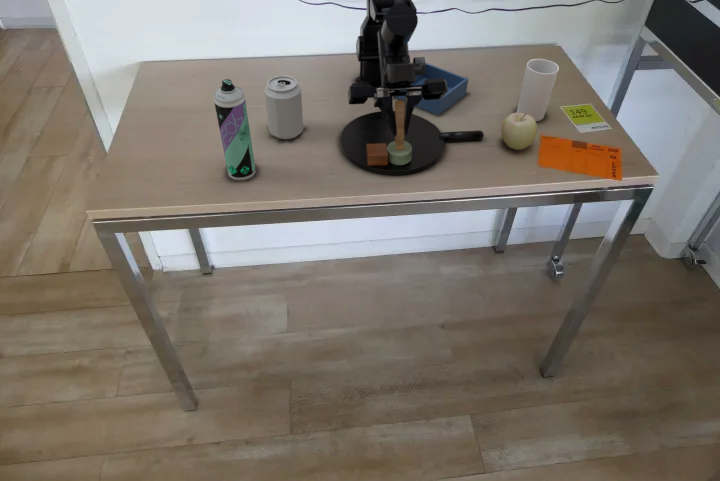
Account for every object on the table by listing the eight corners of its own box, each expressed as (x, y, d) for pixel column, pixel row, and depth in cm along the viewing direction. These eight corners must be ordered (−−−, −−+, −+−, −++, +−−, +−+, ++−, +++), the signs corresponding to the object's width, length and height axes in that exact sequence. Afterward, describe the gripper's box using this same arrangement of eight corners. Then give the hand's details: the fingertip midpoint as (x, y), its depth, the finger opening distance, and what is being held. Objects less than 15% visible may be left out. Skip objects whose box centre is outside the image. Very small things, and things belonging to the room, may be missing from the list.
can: (309, 126, 124) (306, 76, 116) (295, 144, 119) (291, 94, 111) (278, 119, 126) (273, 70, 118) (263, 137, 121) (257, 87, 113)
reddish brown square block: (366, 153, 115) (366, 143, 114) (385, 153, 116) (386, 143, 114) (367, 165, 113) (368, 155, 111) (387, 165, 113) (388, 154, 111)
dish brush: (385, 151, 116) (383, 96, 107) (409, 148, 116) (409, 93, 107) (389, 166, 113) (388, 111, 103) (414, 163, 113) (415, 108, 103)
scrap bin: (395, 97, 134) (396, 81, 131) (423, 77, 140) (425, 62, 138) (438, 115, 128) (440, 99, 125) (465, 94, 135) (468, 78, 132)
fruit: (540, 148, 120) (549, 115, 114) (514, 158, 117) (523, 126, 112) (515, 130, 125) (523, 98, 119) (490, 140, 122) (497, 108, 116)
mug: (549, 121, 127) (563, 73, 119) (520, 123, 127) (533, 74, 118) (534, 98, 134) (547, 51, 126) (507, 99, 134) (518, 52, 125)
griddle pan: (345, 178, 112) (345, 170, 110) (336, 117, 127) (336, 110, 126) (497, 169, 114) (499, 161, 113) (470, 111, 130) (471, 103, 128)
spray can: (229, 164, 114) (212, 74, 100) (256, 163, 115) (243, 73, 100) (226, 181, 110) (209, 89, 96) (255, 180, 111) (241, 89, 97)
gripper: (349, 42, 100) (356, 130, 100) (451, 38, 102) (458, 123, 102) (345, 63, 111) (351, 141, 111) (437, 58, 113) (443, 135, 113)
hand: (400, 135), depth 109 cm, fingers closed on dish brush
